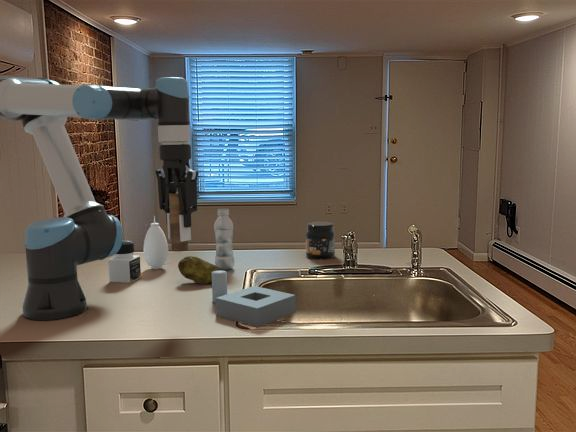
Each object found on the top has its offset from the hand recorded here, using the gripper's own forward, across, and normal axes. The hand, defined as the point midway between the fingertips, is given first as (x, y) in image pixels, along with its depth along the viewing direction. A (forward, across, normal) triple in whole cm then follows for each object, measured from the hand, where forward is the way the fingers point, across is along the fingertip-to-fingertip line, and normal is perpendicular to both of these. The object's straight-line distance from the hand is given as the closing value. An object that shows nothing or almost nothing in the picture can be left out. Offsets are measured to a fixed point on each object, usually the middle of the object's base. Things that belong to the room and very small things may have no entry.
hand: (179, 239), depth 143 cm
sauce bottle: (+19, +45, -26) cm, 55 cm away
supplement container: (+19, +13, -74) cm, 78 cm away
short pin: (+19, +1, -13) cm, 23 cm away
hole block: (+19, -14, -11) cm, 26 cm away
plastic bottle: (+19, +26, -39) cm, 50 cm away
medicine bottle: (+19, +41, -11) cm, 46 cm away
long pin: (+3, 0, 0) cm, 3 cm away
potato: (+19, +20, -23) cm, 36 cm away
